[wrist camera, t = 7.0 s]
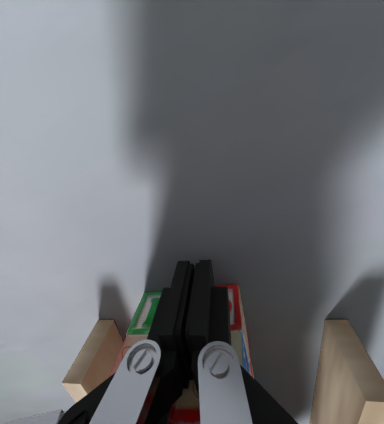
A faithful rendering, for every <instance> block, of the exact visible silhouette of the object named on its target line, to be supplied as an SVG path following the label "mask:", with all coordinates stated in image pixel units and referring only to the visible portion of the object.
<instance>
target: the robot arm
mask: <svg viewBox="0 0 384 424" xmlns="http://www.w3.org/2000/svg"><path fill="white" fill-rule="evenodd" d="M193 378H194V382H195V386H196V390H197V394H198V397H199V402H200V423H201V424H298V423H297V422H296V421H295V420H294V419H293V418H292V417H291V416H290V415H289V414H288V413H287V412H286V411H285V410H284V409H283V408H282V407H281V406H280V405H279V404H278V403H277V402H276V401H275V400H274V399H273V398H272V397H271V396H270V395H269V394H268V392H267V391H266V390H265V389H264V388H263V387H262V386H261V385H260V384H259V383H258V382H257V381H256V380H255V379H254V378H253V377H252V376H251V375H250V374H249V373H248V372H247V371H246V370H245V369H244V368H243V367H242V366H241V365H240V363H239V358H238V356H237V353H236V351H235V350H234V349H233V347H232V346H231V327H230V307H229V296H228V287H227V286H223V287H215V285H214V278H213V271H212V264H211V260H200V262H199V263H196V265H195V269H194V264H193V263H191V264H190V262H189V261H178V263H177V267H176V270H175V274H174V277H173V281H172V285H171V288H164V289H163V290H162V293H161V296H160V299H159V302H158V305H157V309H156V312H155V315H154V318H153V321H152V324H151V327H150V330H149V333H148V337H147V340H142V341H139V342H137V343H135V344H134V345H133V346H132V347H131V348H130V349H129V350H128V351H127V353H126V354H125V356H124V358H123V360H122V362H121V364H120V366H119V367H118V369H117V371H116V372H115V373H114V374H113V375H111V376H110V377H109V378H108V379H106V380H105V381H104V382H102V383H101V384H100V385H99V386H97V387H96V388H95V389H93V390H92V391H91V392H90V393H88V394H87V395H86V396H84V397H83V398H82V399H81V400H79V401H78V402H77V403H76V404H74V405H73V406H72V407H71V408H70V409H69V410H68V411H64V412H63V410H62V409H61V410H56V411H52V412H47V413H43V414H39V415H34V416H30V417H25V418H21V419H17V420H12V421H10V422H7V423H5V424H171V423H172V419H173V416H174V412H175V408H176V402H177V400H178V399H179V398H180V397H181V396H182V392H183V389H188V385H189V380H193Z"/></svg>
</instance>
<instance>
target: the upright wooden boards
mask: <svg viewBox="0 0 384 424" xmlns="http://www.w3.org/2000/svg"><path fill="white" fill-rule="evenodd" d="M123 343H124V342H123V340H122V338H121V335H120V333H119V331H118V329H117V327H116V325H115V322H114V320H98V321H97V323H96V325H95V326H94V328H93V330H92V332H91V333H90V335H89V337H88V338H87V340H86V342H85V344H84V345H83V347H82V349H81V351H80V352H79V354H78V356H77V357H76V359H75V361H74V363H73V364H72V366H71V368H70V370H69V371H68V373H67V375H66V376H65V378H64V380H63V382H62V384H63V386H64V387H65V388H66V390H67V391H68V392H69V394H70V395H71V396H72V398H73V399H74V400H75V402H76V403H77V402H78V401H79V400H81V399H82V398H83V397H84V396H86V395H87V394H88V393H90V392H91V391H92V390H93V389H95V388H96V387H97V386H99V385H100V384H101V383H102V382H104V381H105V380H106V379H108V376H109V374H110V372H111V370H112V368H113V365H114V363H115V361H116V358H117V356H118V354H119V352H120V349H121V347H122V345H123ZM310 424H384V380H383V378H382V376H381V375H380V373H379V371H378V370H377V368H376V366H375V365H374V363H373V361H372V360H371V358H370V356H369V355H368V353H367V351H366V350H365V348H364V346H363V345H362V343H361V341H360V340H359V338H358V336H357V335H356V333H355V331H354V330H353V328H352V326H351V325H350V323H349V321H348V320H325V326H324V332H323V339H322V345H321V352H320V359H319V365H318V372H317V378H316V385H315V392H314V398H313V405H312V412H311V418H310Z"/></svg>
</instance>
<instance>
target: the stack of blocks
mask: <svg viewBox="0 0 384 424" xmlns="http://www.w3.org/2000/svg"><path fill="white" fill-rule="evenodd" d="M223 286H227V287H228V296H229V307H230V327H231V346H232V347H233V349H234V350H235V351H236V353H237V356H238V358H239V363H240V365H241V366H242V367H243V368H244V369H245V370H246V371H247V372H248V373H249V374H250V375H251V376H252V377H253V378H254V379H255V377H254V373H253V368H252V362H251V355H250V347H249V341H248V336H247V330H246V324H245V317H244V311H243V306H242V300H241V295H240V289H239V286H238V285H237V284H236V285H223ZM223 286H215V287H223ZM161 293H162V291H160V292H147V293H144V295H143V297H142V299H141V301H140V303H139V306H138V308H137V310H136V312H135V314H134V316H133V319H132V321H131V323H130V326H129V328H128V330H127V333H126V339H125V341H124V343H123V345H122V347H121V349H120V352H119V354H118V356H117V358H116V361H115V363H114V365H113V368H112V370H111V372H110V374H109V376H108V378H109V377H110V376H111V375H113V374H114V373H115V372H116V371H117V369H118V367H119V366H120V364H121V362H122V360H123V358H124V356H125V354H126V353H127V351H128V350H129V349H130V348H131V347H132V346H133V345H134V344H135V343H137V342H139V341H142V340H147V337H148V333H149V330H150V327H151V324H152V321H153V318H154V315H155V312H156V309H157V305H158V302H159V299H160V296H161ZM171 424H201V423H200V402H199V397H198V394H197V390H196V386H195V382H194V378H193V380H189V385H188V389H183V392H182V396H181V397H180V398H179V399H178V400H177V402H176V408H175V412H174V416H173V419H172V423H171Z"/></svg>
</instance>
